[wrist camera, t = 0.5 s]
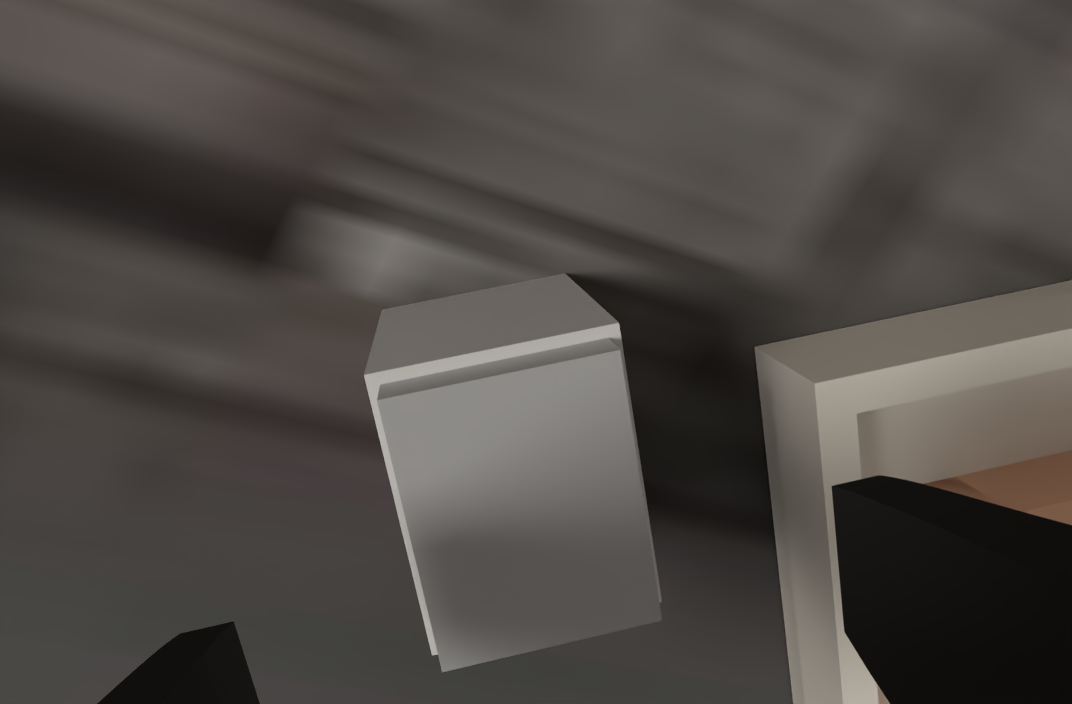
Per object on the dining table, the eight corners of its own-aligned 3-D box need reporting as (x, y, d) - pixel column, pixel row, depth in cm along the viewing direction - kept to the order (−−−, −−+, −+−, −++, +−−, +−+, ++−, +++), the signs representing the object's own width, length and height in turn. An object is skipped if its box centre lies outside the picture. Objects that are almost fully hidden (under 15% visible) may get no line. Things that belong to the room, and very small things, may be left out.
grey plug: (599, 482, 19) (675, 628, 13) (430, 519, 19) (432, 685, 13) (564, 273, 18) (631, 334, 12) (382, 309, 17) (359, 389, 12)
